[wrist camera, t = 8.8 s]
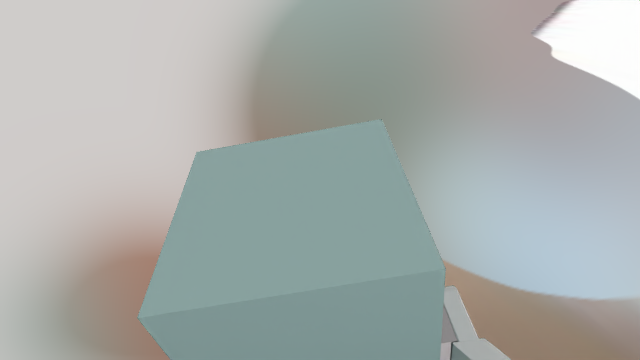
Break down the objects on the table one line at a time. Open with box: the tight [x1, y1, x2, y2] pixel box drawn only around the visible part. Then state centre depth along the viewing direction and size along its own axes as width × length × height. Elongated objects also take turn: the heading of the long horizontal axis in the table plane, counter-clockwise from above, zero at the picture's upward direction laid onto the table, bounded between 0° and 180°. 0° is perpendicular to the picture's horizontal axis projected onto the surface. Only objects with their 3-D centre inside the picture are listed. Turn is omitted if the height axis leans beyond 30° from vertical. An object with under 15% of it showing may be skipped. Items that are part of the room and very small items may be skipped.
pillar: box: [137, 119, 446, 360], centre depth 11 cm, size 4×4×12 cm
